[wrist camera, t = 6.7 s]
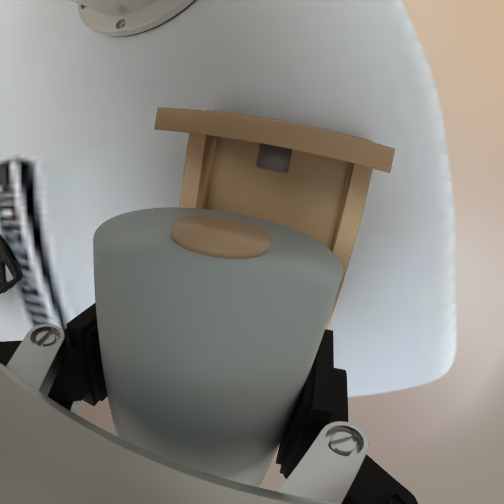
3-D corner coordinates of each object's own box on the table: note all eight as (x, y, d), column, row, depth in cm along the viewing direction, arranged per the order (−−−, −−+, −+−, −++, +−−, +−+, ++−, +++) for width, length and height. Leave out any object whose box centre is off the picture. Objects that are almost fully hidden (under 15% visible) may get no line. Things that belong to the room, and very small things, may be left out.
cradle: (211, 112, 18) (159, 96, 12) (369, 141, 17) (397, 136, 11) (185, 325, 24) (144, 380, 17) (309, 358, 23) (301, 426, 16)
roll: (164, 192, 11) (37, 237, 5) (336, 227, 10) (363, 323, 4) (156, 387, 14) (97, 477, 8) (275, 422, 13) (251, 531, 7)
